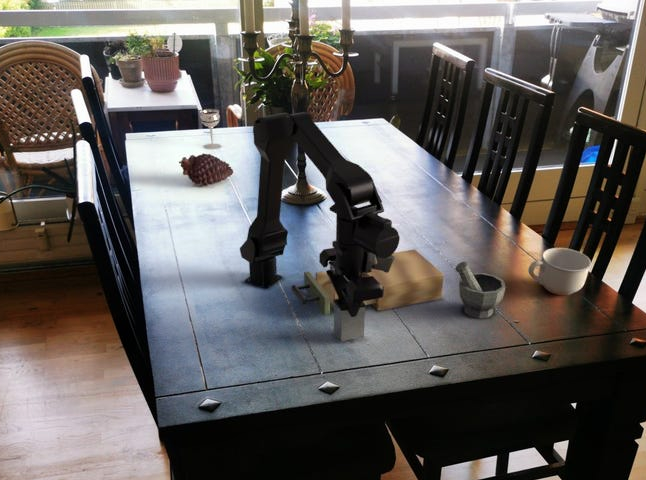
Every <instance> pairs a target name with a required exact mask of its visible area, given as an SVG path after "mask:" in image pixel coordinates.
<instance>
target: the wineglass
mask: <svg viewBox="0 0 646 480" xmlns="http://www.w3.org/2000/svg"><path fill="white" fill-rule="evenodd" d="M199 113H200V115H199V120H200V122H201V124H203V125H204V126H205V127H207V128H208V129H209V133H210V141H211V144H207V145H205V148H206V149H211V150H215V149H218V148H220V147H221V146H220V145H219V144H216V143H215V144H214V141H213V140H214V139H213V129H214V127H216V126H217V125H218V124H219V123H220V121H221V116H220V110H219V109H215V108H206V109H202V110H200V111H199Z"/></svg>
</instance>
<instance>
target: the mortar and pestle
mask: <svg viewBox="0 0 646 480" xmlns="http://www.w3.org/2000/svg"><path fill="white" fill-rule="evenodd" d="M455 271H456V272H457V273H458V274H459V276H460V277H459V281H458V287H459V297H460V300H461V302H462V304H464V313H465V314H467V315H468V316H470V317H473V318H478V319H485V318H489V317H491V316H492V315H493V313H494V308H495V307H497V306H498V305H499V304H500V303H501V301H503V298H504V296H505V293H506V285H505V280H503V279H502V278H500V277H499V276H497V275H495V274H491V273H485V272H472V270H471V268H470V263H468V262H467V261H461V262H459V263H457V265H456V266H455Z"/></svg>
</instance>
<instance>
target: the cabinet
mask: <svg viewBox="0 0 646 480" xmlns="http://www.w3.org/2000/svg"><path fill="white" fill-rule="evenodd" d="M392 256H393V257H394V260H393V263H392V265H391V268H390V270H389V272H388V273H386V272H384V271H381V270H376V269H372V271H371V272H369V273H365V272H363V273H364V274H365V275H366V276H367V277H369V276H373V277H374V278H375V279H377V281H378V282H379V283H380V284H381V285H382V286H383V287H384V296H383V297H382V298H378V299H377V303H374V304H372V306H373V307H374V308H375V309H376V310H377V311H378V312H379V311H384V310H389V309H393V308H400V307H406V306H410V305H415V304H421V303H426V302H427V303H428V302H433V301H438V300H442V295H443V285H444V275H445V274H444V273H443V272H442V271H441V270H439V269H438V268H437V267H436V266H435V265H434V264H433V263H431V262H430V261H429V260H428V259H427V258H425V257H424V256H423V255H422V254H421V253H419V251H418V250H416V249H407V250H402V251H395V252H394V253H393V254H392Z"/></svg>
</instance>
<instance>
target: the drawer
mask: <svg viewBox="0 0 646 480" xmlns="http://www.w3.org/2000/svg"><path fill="white" fill-rule="evenodd" d="M326 271H327V270H324V271H323V270H322V271H317V272H315V276H314V275H313V274H312V273H311V272H310V271H304V272H303V285H296V284H292V285H291V287H290V289H291V291H292V293H293V294H294V295H295V296H296V298H297V299H298V301H299V302H300V303H301V305H302V306H306V305H307V304H308V303H311V302H314V304H315V305H316V307H317V308H318V309H319V310H320V312H321V313H322V314H323V316H330V315H331V308H332V309H333V310H334V300H335V299H339V298H338V296H337V293H336V291H335V289H334V287H333V285H332V283H331V281H330V279H329V276H328V275H327V273H326ZM363 275H364V276H365V277H367V276H366V275H365V274H364V273H363ZM301 290H304V291H305V292H306V294H307V295H308V296H309V297H308V298H307V297H306V296H305V295H304V293H303V292H302V291H301ZM363 302H364V303H365V304H366V306H368V305H373V304H374V303H377V299H373V300H367V301H363Z"/></svg>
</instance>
